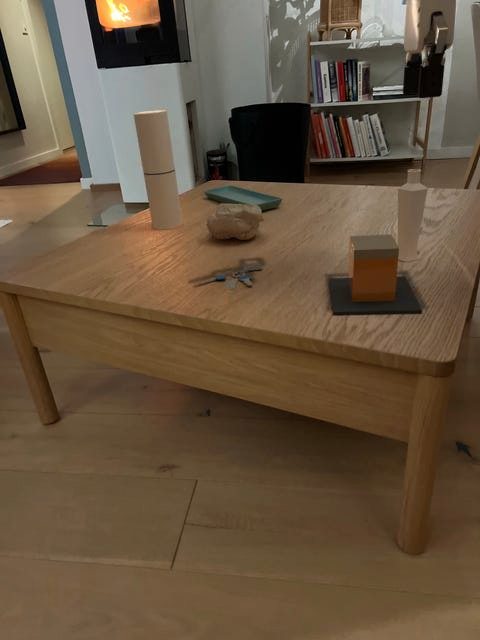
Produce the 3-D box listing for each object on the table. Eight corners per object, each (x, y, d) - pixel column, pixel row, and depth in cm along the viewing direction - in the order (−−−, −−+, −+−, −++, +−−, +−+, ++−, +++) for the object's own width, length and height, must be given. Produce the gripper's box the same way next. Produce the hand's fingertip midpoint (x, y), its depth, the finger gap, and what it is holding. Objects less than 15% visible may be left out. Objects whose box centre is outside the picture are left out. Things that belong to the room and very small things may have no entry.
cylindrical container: (148, 230, 111) (128, 114, 100) (158, 221, 117) (140, 111, 106) (177, 229, 110) (160, 112, 98) (186, 220, 116) (171, 109, 104)
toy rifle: (252, 262, 88) (252, 258, 88) (285, 273, 82) (285, 268, 82) (193, 287, 80) (192, 282, 80) (225, 300, 74) (224, 295, 74)
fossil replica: (208, 234, 105) (210, 252, 97) (201, 198, 101) (202, 214, 92) (262, 224, 105) (268, 242, 97) (257, 188, 101) (263, 203, 92)
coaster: (404, 278, 76) (405, 275, 76) (422, 313, 65) (422, 310, 65) (328, 281, 77) (328, 278, 77) (333, 315, 67) (333, 311, 67)
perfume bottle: (415, 264, 81) (424, 174, 74) (390, 260, 83) (396, 172, 76) (424, 255, 84) (434, 168, 77) (400, 251, 86) (407, 166, 79)
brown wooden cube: (391, 234, 70) (349, 236, 70) (399, 248, 64) (354, 249, 65) (387, 284, 73) (348, 285, 74) (394, 301, 68) (352, 302, 69)
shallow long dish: (203, 198, 135) (202, 189, 134) (230, 192, 139) (229, 183, 138) (253, 215, 115) (253, 205, 114) (284, 208, 119) (283, 198, 118)
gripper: (483, -60, 57) (465, 96, 65) (441, -34, 72) (430, 90, 80) (419, -52, 58) (409, 101, 66) (390, -28, 73) (384, 95, 81)
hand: (420, 95), depth 73 cm, fingers open, 9 cm apart
